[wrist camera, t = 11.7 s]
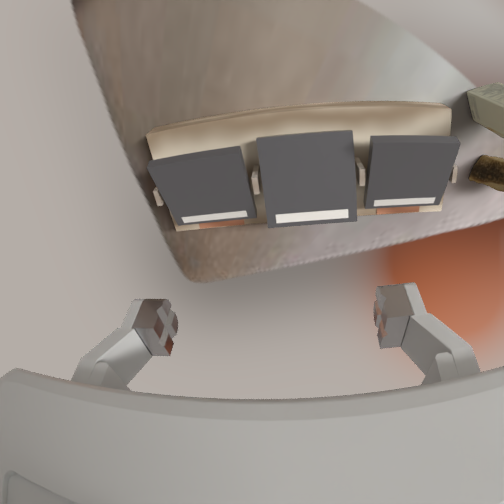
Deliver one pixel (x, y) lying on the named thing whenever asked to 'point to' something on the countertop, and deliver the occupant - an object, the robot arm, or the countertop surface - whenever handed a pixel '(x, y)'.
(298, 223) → the panel
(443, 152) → the rocker
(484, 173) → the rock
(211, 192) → the panel
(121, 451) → the robot arm
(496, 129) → the skincare box
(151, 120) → the countertop surface
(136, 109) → the countertop surface
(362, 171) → the switch panel
